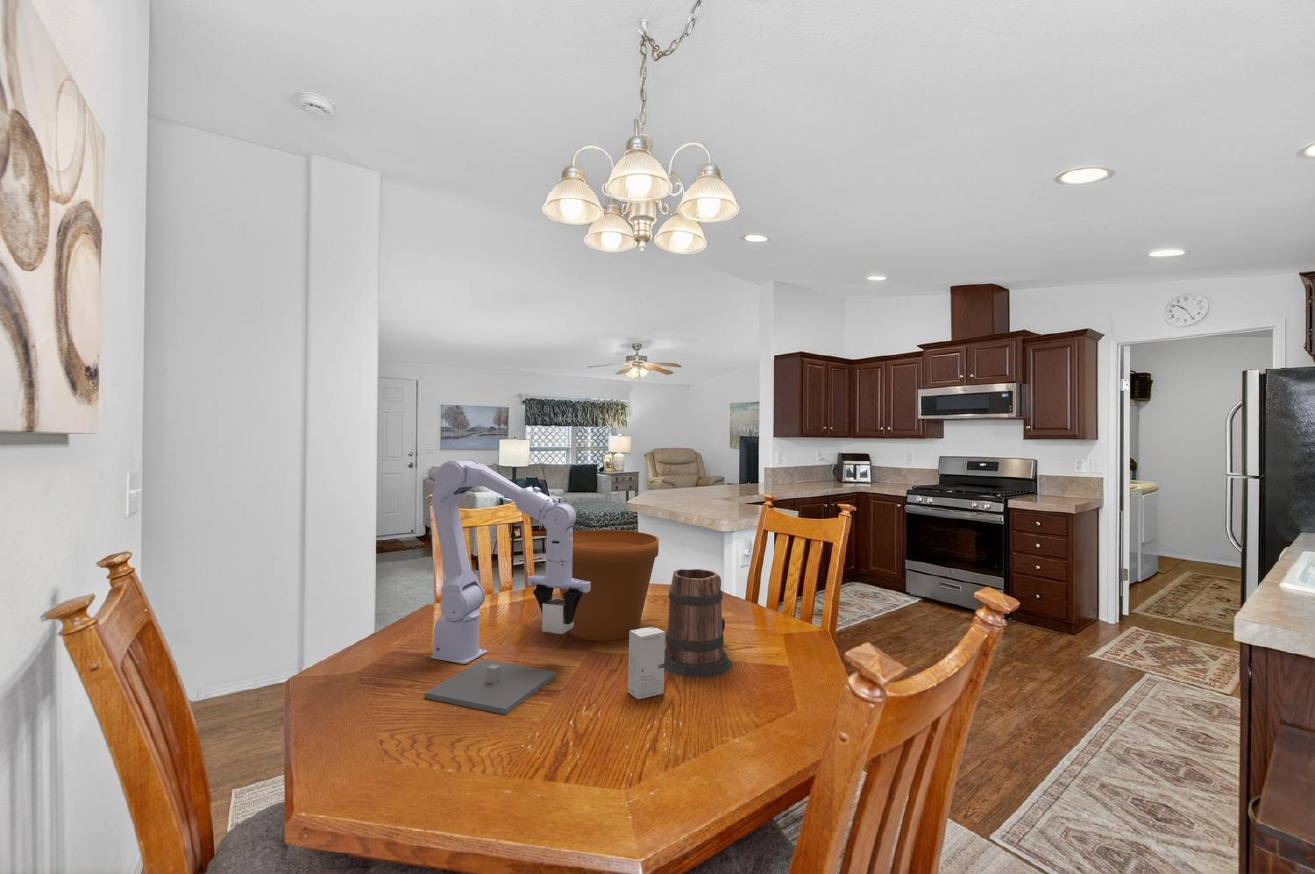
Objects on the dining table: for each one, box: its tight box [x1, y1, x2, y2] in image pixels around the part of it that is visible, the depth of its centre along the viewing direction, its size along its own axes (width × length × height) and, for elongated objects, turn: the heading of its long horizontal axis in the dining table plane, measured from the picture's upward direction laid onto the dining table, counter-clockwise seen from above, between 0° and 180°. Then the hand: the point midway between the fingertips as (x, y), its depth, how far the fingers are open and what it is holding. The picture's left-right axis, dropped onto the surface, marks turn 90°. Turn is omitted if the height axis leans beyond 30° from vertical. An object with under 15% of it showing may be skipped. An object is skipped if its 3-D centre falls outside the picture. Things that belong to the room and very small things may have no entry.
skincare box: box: [627, 626, 666, 700], centre depth 115 cm, size 6×4×12 cm
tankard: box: [664, 568, 733, 679], centre depth 134 cm, size 24×17×20 cm
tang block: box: [423, 659, 557, 716], centre depth 117 cm, size 18×18×4 cm
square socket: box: [541, 597, 574, 635], centre depth 129 cm, size 5×5×6 cm
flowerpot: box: [559, 529, 660, 641], centre depth 154 cm, size 28×28×24 cm
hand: (558, 621), depth 129 cm, fingers closed on square socket, 5 cm apart
